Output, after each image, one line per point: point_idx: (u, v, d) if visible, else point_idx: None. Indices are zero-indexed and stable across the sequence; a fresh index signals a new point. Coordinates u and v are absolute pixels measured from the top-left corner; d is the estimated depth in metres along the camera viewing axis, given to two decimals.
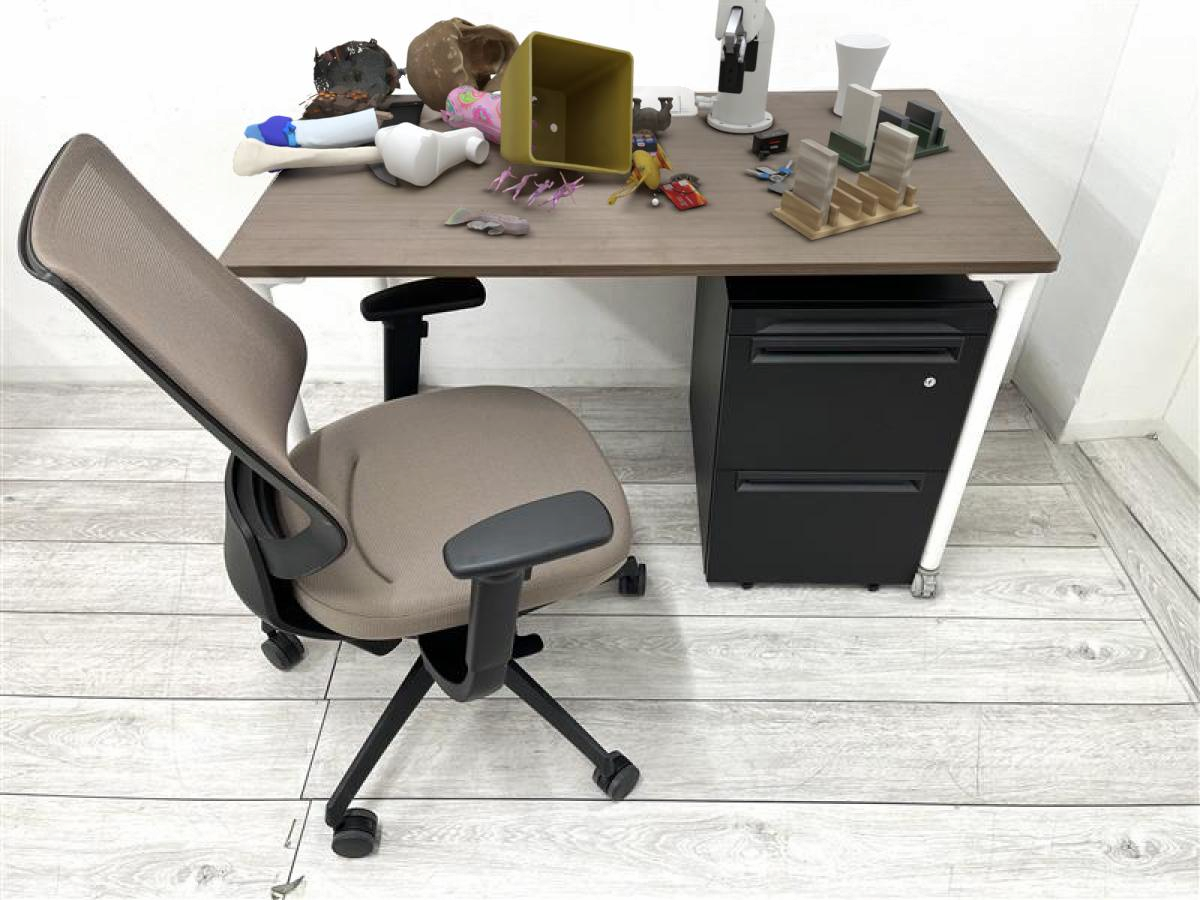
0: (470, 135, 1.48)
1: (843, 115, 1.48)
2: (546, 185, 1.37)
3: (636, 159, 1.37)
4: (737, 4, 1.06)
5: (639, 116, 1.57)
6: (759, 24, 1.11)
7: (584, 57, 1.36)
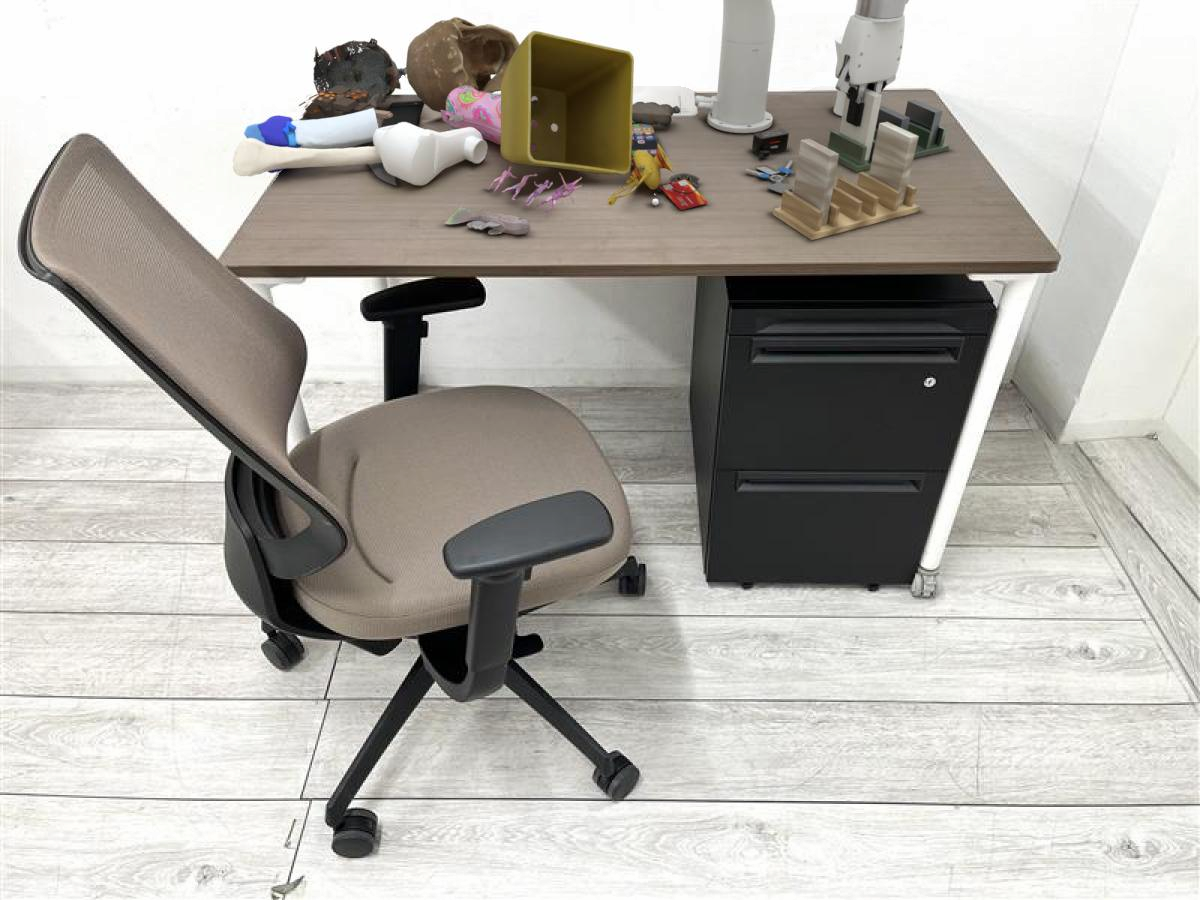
0: (468, 135, 1.48)
1: (843, 115, 1.48)
2: (545, 185, 1.37)
3: (636, 159, 1.37)
4: (847, 53, 1.37)
5: None
6: (877, 74, 1.40)
7: (584, 57, 1.36)
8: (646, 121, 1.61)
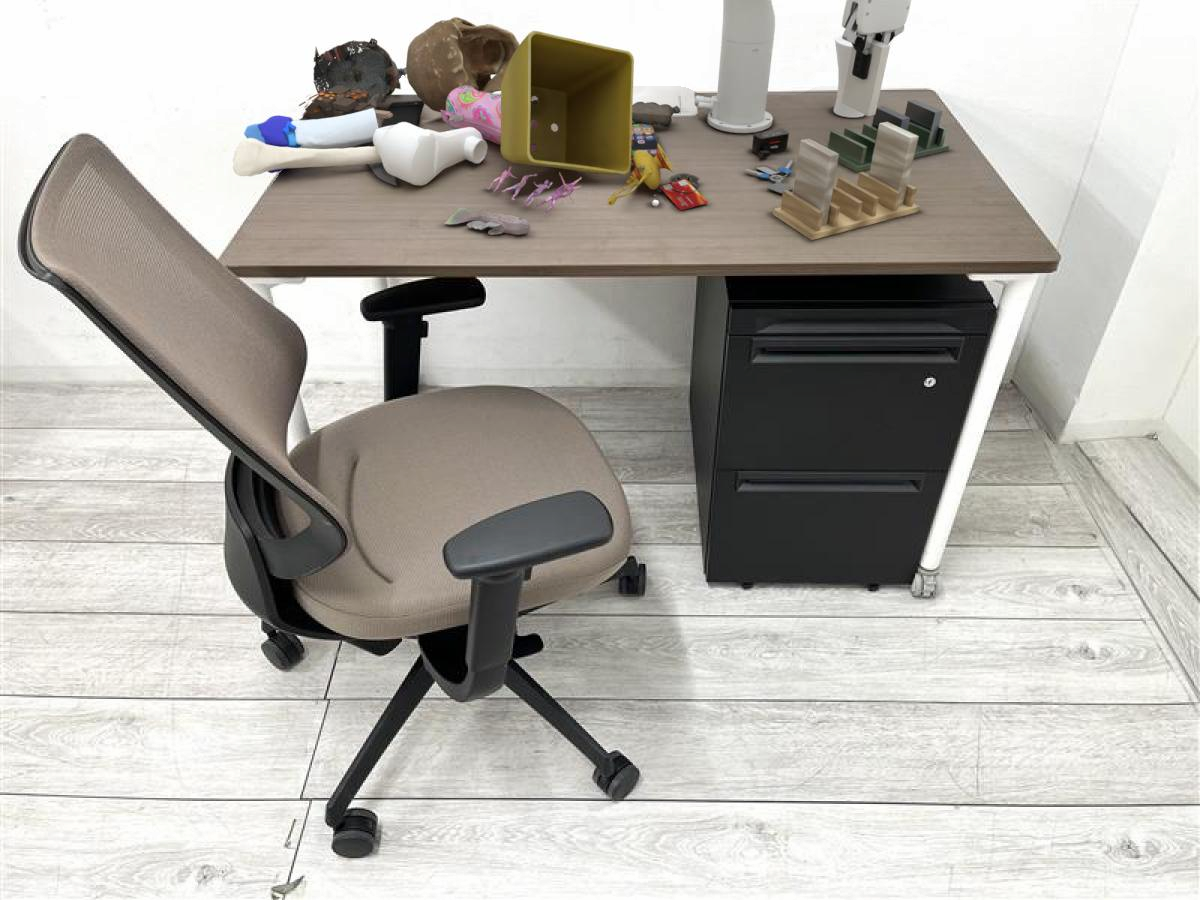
0: (468, 135, 1.48)
1: (849, 68, 1.44)
2: (545, 185, 1.37)
3: (636, 159, 1.37)
4: (855, 1, 1.32)
5: None
6: (886, 24, 1.35)
7: (584, 57, 1.36)
8: (646, 121, 1.61)
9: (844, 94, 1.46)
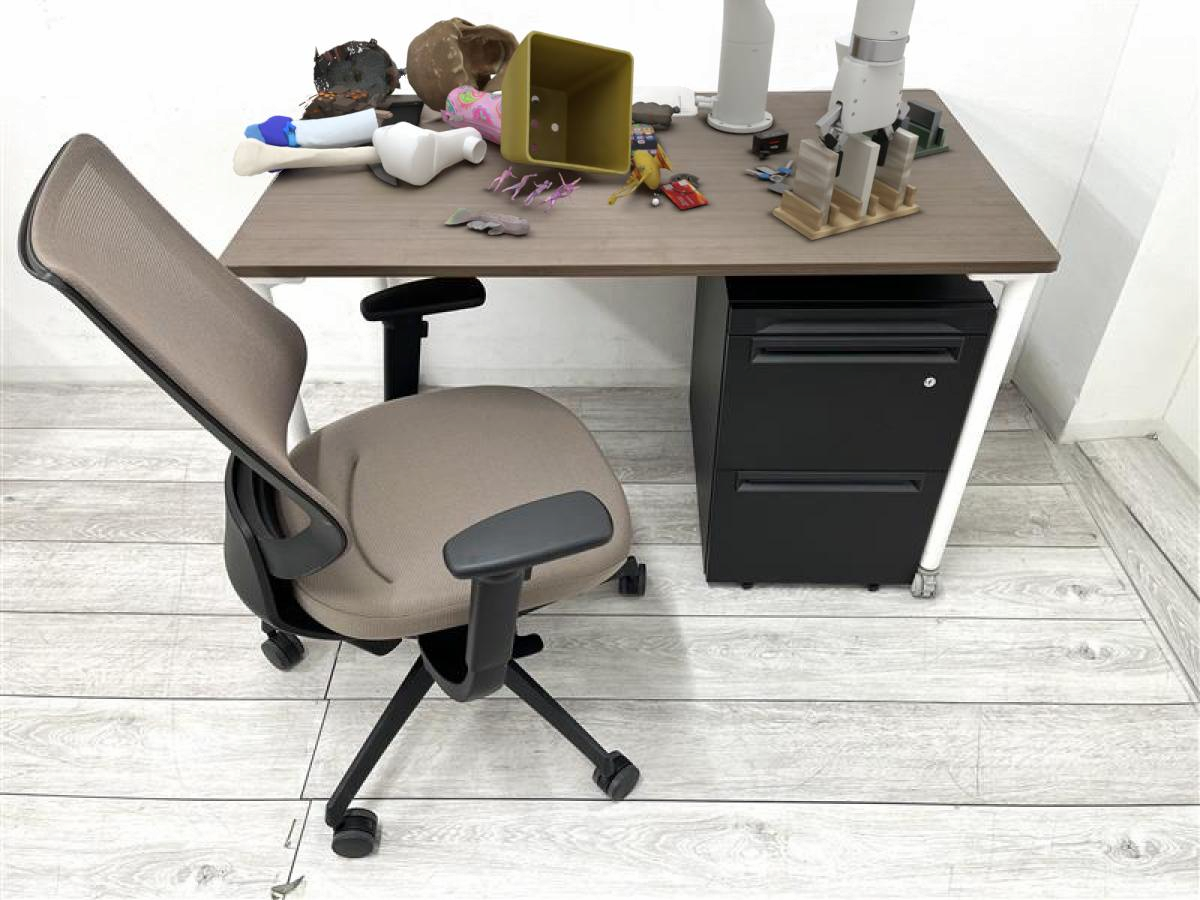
0: (467, 134, 1.48)
1: None
2: (545, 185, 1.37)
3: (636, 159, 1.37)
4: (840, 100, 1.21)
5: None
6: (874, 122, 1.23)
7: (584, 57, 1.36)
8: (646, 121, 1.61)
9: None
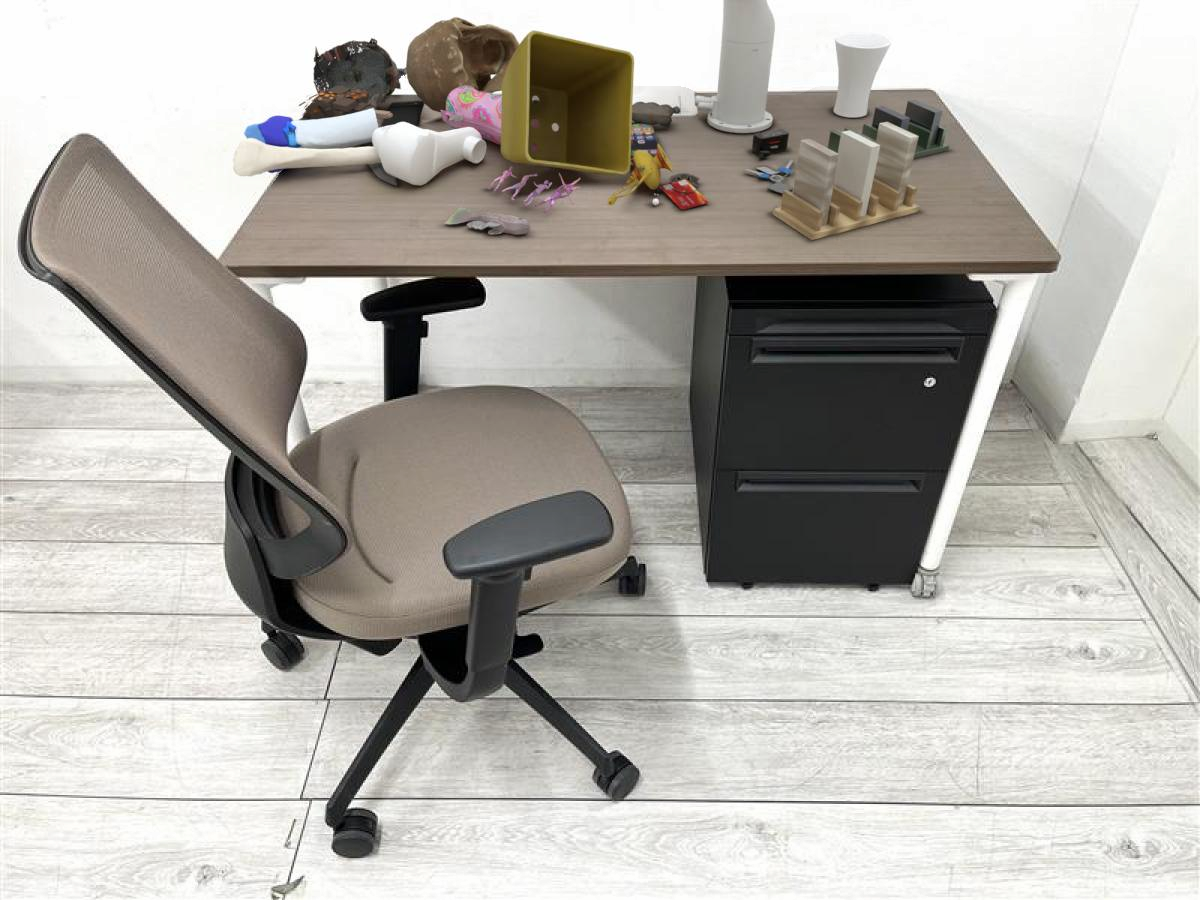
0: (467, 134, 1.48)
1: None
2: (545, 186, 1.37)
3: (636, 159, 1.37)
4: None
5: None
6: None
7: (584, 57, 1.36)
8: (646, 121, 1.61)
9: None
